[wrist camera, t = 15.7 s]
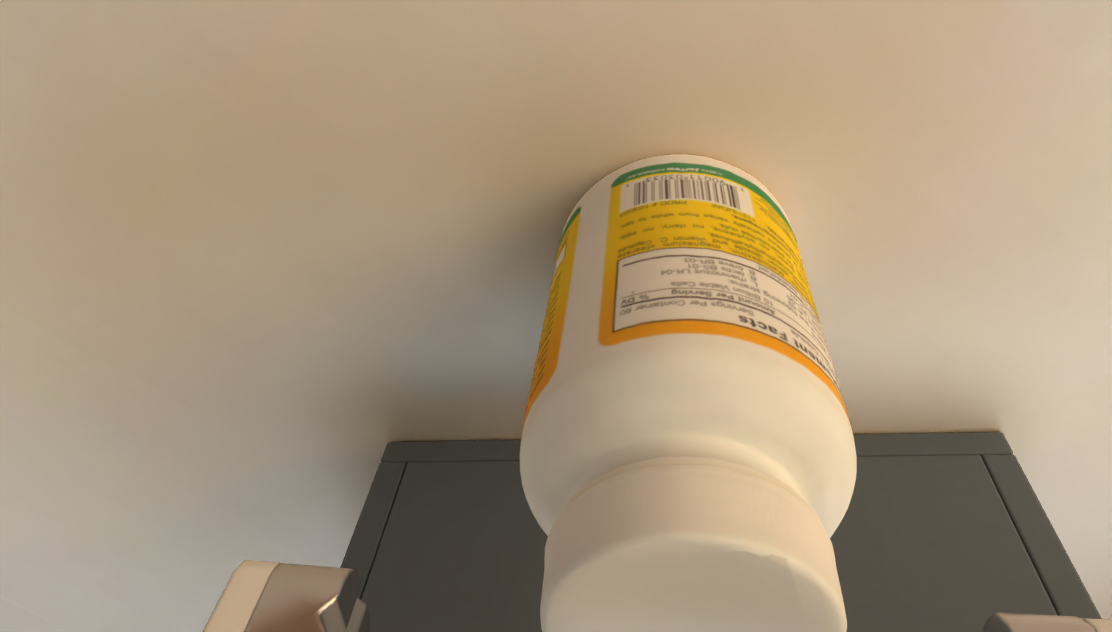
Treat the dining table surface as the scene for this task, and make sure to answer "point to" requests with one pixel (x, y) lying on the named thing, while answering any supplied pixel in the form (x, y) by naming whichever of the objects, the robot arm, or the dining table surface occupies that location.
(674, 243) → the supplement bottle
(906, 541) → the box shelf
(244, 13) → the dining table surface
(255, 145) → the dining table surface
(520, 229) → the dining table surface
